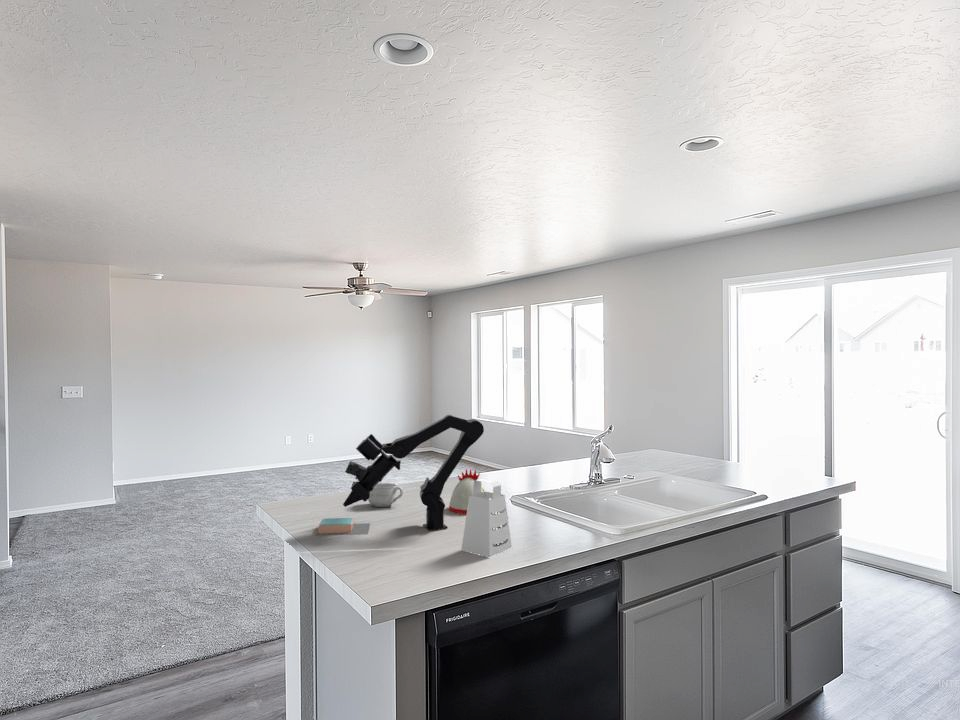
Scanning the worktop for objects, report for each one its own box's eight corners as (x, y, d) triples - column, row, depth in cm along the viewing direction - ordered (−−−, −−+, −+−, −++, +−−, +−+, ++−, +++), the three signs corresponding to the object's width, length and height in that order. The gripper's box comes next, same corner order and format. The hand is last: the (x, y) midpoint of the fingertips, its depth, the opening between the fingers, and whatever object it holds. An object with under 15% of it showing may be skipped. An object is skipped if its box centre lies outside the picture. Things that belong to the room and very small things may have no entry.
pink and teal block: (353, 517, 187) (322, 518, 186) (351, 524, 179) (318, 525, 178) (353, 525, 187) (322, 526, 186) (351, 532, 179) (318, 533, 178)
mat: (370, 524, 190) (370, 523, 190) (367, 535, 178) (367, 534, 178) (321, 526, 188) (321, 524, 188) (315, 537, 176) (315, 535, 176)
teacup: (361, 507, 213) (361, 485, 213) (379, 500, 223) (379, 480, 223) (391, 511, 207) (391, 489, 207) (408, 505, 216) (409, 484, 216)
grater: (484, 541, 173) (484, 475, 173) (511, 548, 166) (512, 480, 166) (461, 550, 165) (461, 481, 165) (489, 558, 158) (490, 486, 158)
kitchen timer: (486, 514, 204) (486, 472, 204) (448, 514, 204) (448, 472, 204) (486, 505, 218) (487, 465, 218) (450, 504, 218) (451, 465, 218)
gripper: (362, 448, 193) (329, 482, 192) (358, 457, 174) (321, 495, 173) (386, 471, 194) (353, 504, 193) (384, 482, 175) (348, 520, 174)
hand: (344, 505), depth 183 cm, fingers closed
